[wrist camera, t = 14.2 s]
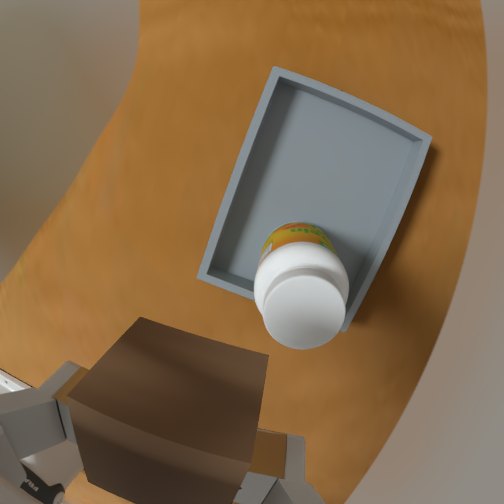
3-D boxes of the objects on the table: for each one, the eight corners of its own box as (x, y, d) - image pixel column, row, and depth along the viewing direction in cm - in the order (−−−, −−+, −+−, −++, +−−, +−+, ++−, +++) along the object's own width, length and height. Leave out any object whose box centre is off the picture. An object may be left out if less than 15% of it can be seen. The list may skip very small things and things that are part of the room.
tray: (204, 267, 25) (196, 278, 23) (274, 74, 21) (273, 65, 18) (340, 318, 26) (344, 332, 23) (419, 138, 21) (432, 136, 19)
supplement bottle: (344, 237, 23) (380, 287, 14) (313, 298, 25) (327, 374, 15) (278, 208, 23) (275, 241, 14) (250, 272, 25) (231, 338, 15)
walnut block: (136, 405, 10) (88, 481, 6) (140, 316, 9) (66, 395, 5) (239, 438, 10) (218, 529, 6) (268, 355, 9) (250, 463, 5)
